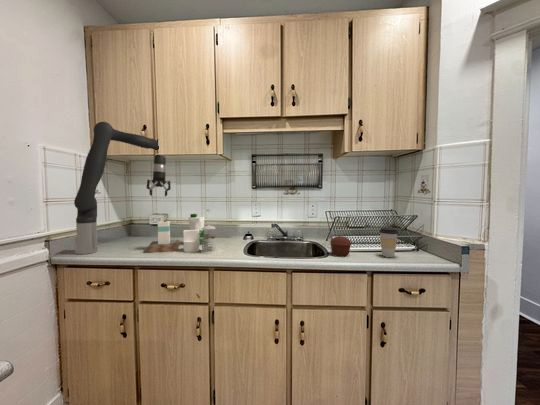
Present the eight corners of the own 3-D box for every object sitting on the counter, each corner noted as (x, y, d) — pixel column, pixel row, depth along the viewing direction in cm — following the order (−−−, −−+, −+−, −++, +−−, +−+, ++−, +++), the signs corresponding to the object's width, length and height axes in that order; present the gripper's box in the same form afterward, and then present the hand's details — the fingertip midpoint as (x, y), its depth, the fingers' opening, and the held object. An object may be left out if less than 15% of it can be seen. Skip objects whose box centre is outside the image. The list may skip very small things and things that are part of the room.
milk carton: (194, 242, 166) (193, 213, 165) (206, 242, 164) (206, 213, 163) (187, 245, 157) (186, 214, 156) (200, 245, 155) (199, 215, 155)
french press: (212, 254, 134) (211, 209, 133) (194, 252, 137) (193, 209, 136) (220, 250, 143) (220, 208, 142) (203, 248, 147) (203, 208, 146)
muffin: (326, 255, 133) (327, 237, 133) (333, 251, 142) (333, 234, 142) (348, 258, 127) (349, 239, 126) (353, 253, 136) (354, 236, 136)
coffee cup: (383, 253, 138) (384, 227, 137) (400, 256, 130) (401, 229, 130) (375, 255, 132) (375, 228, 131) (392, 259, 125) (393, 230, 124)
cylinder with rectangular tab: (200, 248, 149) (200, 229, 148) (198, 251, 140) (198, 231, 139) (185, 248, 147) (185, 229, 147) (182, 252, 138) (181, 231, 138)
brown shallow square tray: (147, 253, 137) (147, 246, 136) (152, 246, 152) (152, 241, 152) (177, 251, 141) (177, 244, 141) (179, 245, 156) (179, 239, 156)
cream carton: (158, 244, 143) (157, 220, 142) (159, 242, 148) (159, 219, 148) (169, 243, 144) (168, 220, 144) (170, 241, 150) (169, 219, 150)
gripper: (146, 170, 153) (145, 195, 153) (170, 171, 158) (169, 196, 158) (148, 171, 160) (147, 195, 160) (171, 173, 165) (170, 196, 165)
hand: (158, 196), depth 159 cm, fingers open, 8 cm apart
